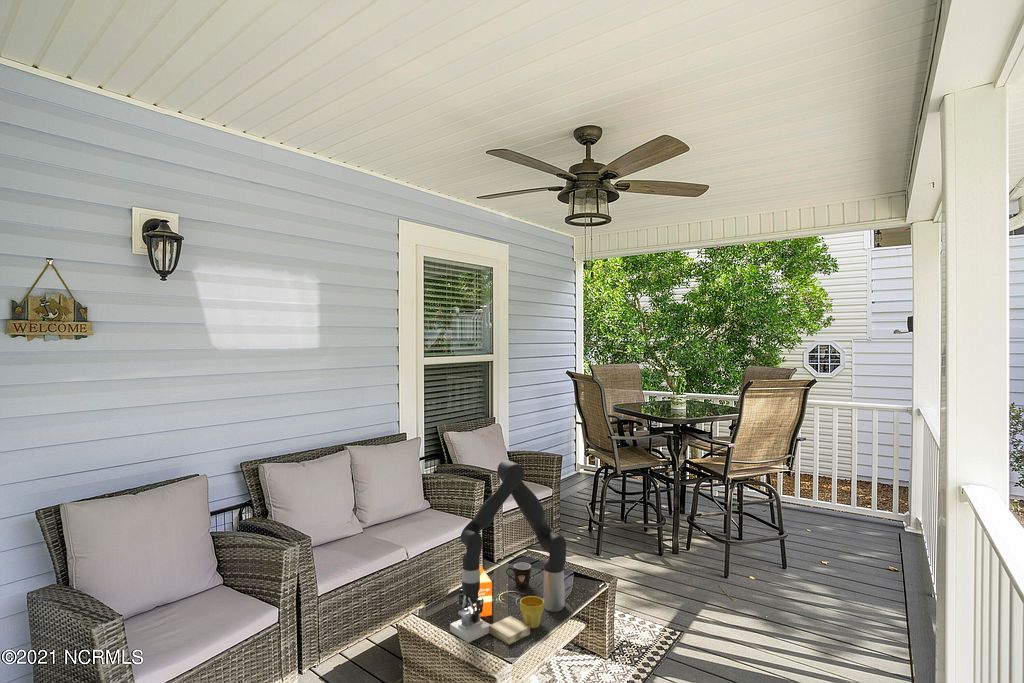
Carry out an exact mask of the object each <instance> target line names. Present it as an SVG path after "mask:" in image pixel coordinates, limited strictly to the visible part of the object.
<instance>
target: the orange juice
mask: <svg viewBox="0 0 1024 683" xmlns="http://www.w3.org/2000/svg"><path fill="white" fill-rule="evenodd" d="M478 595H479V598H480V599H482V598H483V599H484V602H483V612H482V613H480V618H481V617H488V616H492V615H493V614H492V613H493V610H492V609H493V606H492V604H493V581H492V580H491V579H490V577H489V575H488V574H487V572H486V571H485V569H484V568H483V567H482V566H481V564H480V590H479V592H478ZM475 604H476V603H475ZM475 604H473V605H475Z"/></svg>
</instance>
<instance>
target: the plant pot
mask: <svg viewBox="0 0 1024 683" xmlns="http://www.w3.org/2000/svg"><path fill="white" fill-rule="evenodd" d="M519 610H520V611H521V615H522V622H523V623H525V624H526V625H528V626H530V629H537V628H539V627H540V624H541V619H542V616H543V615H542V614H543V612H544V611H545V609H544V600H543V598H542V597H540V596H535V595H532V596H531V595H530V596H525V597H522V598H520V600H519Z"/></svg>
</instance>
